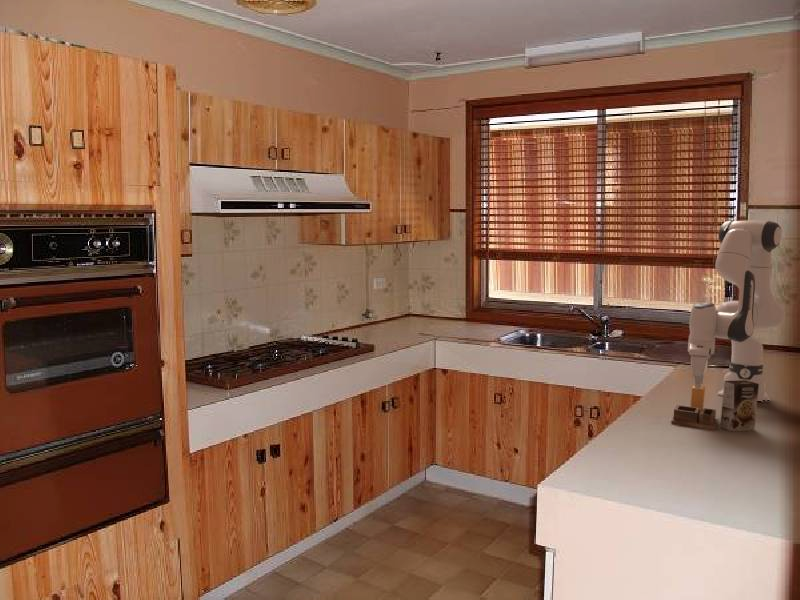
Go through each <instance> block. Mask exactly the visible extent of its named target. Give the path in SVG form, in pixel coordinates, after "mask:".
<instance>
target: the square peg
mask: <svg viewBox="0 0 800 600" xmlns="http://www.w3.org/2000/svg"><path fill="white" fill-rule="evenodd" d="M705 391H706V387H705V386H701V387H700V388H699V389H698V388H695V385H693V386H692V387H691V397H690V407H696V408H700V411H699V416H700V413H701V410H702V408H705V407H704V406H705V404H704V403H705Z"/></svg>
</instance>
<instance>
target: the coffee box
mask: <svg viewBox="0 0 800 600" xmlns="http://www.w3.org/2000/svg"><path fill="white" fill-rule="evenodd" d="M723 385H724V386H723V387H724V392H723V396H722V403H721V404H722V405H721V406H722V407H721V414H720V415H721V416H720V427H721V428H724V429H725V430H728V431H731V432H743V431H744V430H748V431H755V430H756V419H757V418H756V417H757V407H758V402H757V398H758V387H759V384H757V383H754V382H750V381H746V380H738V381H725V382H723ZM744 432H745V431H744Z"/></svg>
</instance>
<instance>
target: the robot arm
mask: <svg viewBox="0 0 800 600" xmlns="http://www.w3.org/2000/svg"><path fill="white" fill-rule="evenodd" d="M782 236H783V234H782V227H781V226H780V225H779V223H777V222H775V221H771V220H768V221H764V220H757V219H750V220H745V219H743V220H733V219H731V220H727V221H724V222H723V223H722V224H721V225H720V226H719V230H718V235H717V237H718V241H719V243H720V246H719V249H718V252H717V257H716V260H715V270H716V274H718V275H719V276H720V277H721V278H722V279H724V280H725V281H726V282H728V283H730V284H733V285H735V286H736V287H737V288H738V300H730V301H723V302H721V303H720V304H719V305H718V307H717V308H716V305H715V303H714V302H708V301H707V302H706V301H704V302H697V303H695V304H693V305H692V307H691V311H690V314H689V324H688V325H689V326H688V328H689V335H688V341H687V352H688V353H689V356H690V370H691V376H692V377H694V386H695V388H698V389H699V388H700V387H702V386H701V385H703V383H704V376H705V374H706V371H707V369H708V361H709V359H711V355H714V354H715V350H716V349H715V347H716V338H717V339H723V340H730V341H731V358H730V360H731V361H730V362H729V364H728V365H729V369H728V370H729V372H727V373H726V374H725V375H724V378H723V381H724V382H725V381H738V380H746V381H750V382H754V383H757V384H759V387H758V398H757V401H761V402H763V401H762V400H770V401H771V397H769V396H768V395H767V393H766V391H767V388H766V386H767V385H766V384H767V381H766V379H765V377H764V376H763V372H764V365H763V357H764V356H763V355H764V346H763V344H762V342H761V341H759V339H756V338H755V337H753V336H752V335H753V333H754V330H770V329H777V328H780V327H781V326H782V325H783V324H784V322H785V320H786V311H785V309H784V307H783V306H782V304H780V303H779V302H778V301H777V300H776V299H775V297H774V295H773V293H772V289H771V269H772V250H774V249H776V248H777V247H778V246H779V245H780V243H781V241H782ZM724 382H723V383H724ZM722 387H723V388H722V389H721V390H718V392H717V395H719V396H721V397H723V392H724V384H723V386H722Z"/></svg>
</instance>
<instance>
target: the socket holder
mask: <svg viewBox="0 0 800 600" xmlns="http://www.w3.org/2000/svg"><path fill="white" fill-rule="evenodd" d="M699 411H700V408H696V407H691V406H688V405H679V404H676V405H675V408H674V409H673V417H672V419H671V420H670V424H671V423H672V424H671V425H676V424H679V425H678V426H683V425H684V426H685V427H690V426H691V427H692V428H696V429H697V428H698V429H703V428H704V430H710V429H711V430H712V431H716V429H717V425H718V423H719V418H716V417H717V416H716V415H717V414H716V413H717V409H713V408H707V407H704V408H702V410H701V413H700V416H699Z"/></svg>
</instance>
